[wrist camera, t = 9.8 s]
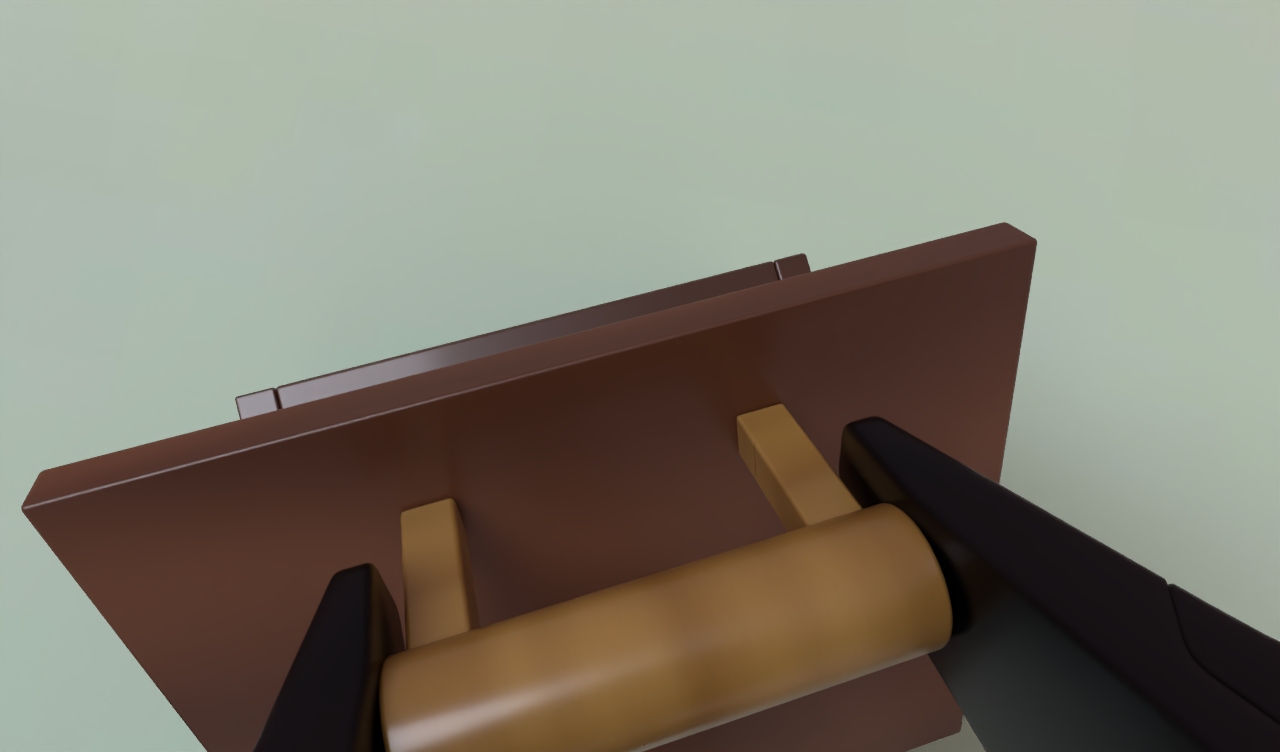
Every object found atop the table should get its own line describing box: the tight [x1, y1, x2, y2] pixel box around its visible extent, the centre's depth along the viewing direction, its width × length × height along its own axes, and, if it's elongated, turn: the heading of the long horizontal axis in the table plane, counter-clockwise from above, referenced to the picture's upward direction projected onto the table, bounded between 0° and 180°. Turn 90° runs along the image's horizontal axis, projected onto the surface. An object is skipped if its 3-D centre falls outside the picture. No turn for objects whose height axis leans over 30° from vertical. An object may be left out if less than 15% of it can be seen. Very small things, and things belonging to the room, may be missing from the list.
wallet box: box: [235, 253, 811, 420], centre depth 20 cm, size 11×13×5 cm
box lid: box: [22, 222, 1037, 752], centre depth 12 cm, size 11×13×4 cm
